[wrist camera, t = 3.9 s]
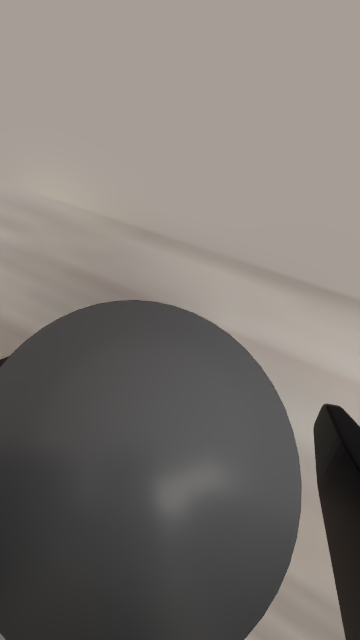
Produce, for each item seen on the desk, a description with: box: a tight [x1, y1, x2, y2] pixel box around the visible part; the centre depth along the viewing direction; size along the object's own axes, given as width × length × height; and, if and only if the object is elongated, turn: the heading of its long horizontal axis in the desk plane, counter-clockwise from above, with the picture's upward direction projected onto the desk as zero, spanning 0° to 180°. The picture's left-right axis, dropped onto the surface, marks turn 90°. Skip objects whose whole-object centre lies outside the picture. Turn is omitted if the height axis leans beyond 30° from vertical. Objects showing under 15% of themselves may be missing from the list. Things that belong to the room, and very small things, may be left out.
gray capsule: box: [0, 300, 301, 640], centre depth 10 cm, size 5×5×11 cm
